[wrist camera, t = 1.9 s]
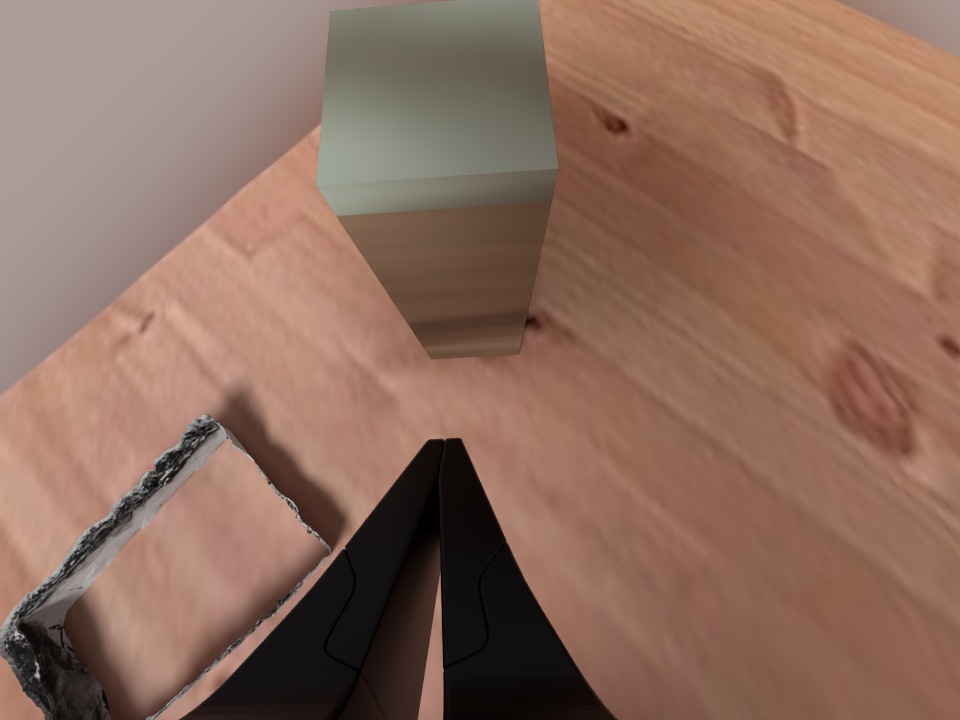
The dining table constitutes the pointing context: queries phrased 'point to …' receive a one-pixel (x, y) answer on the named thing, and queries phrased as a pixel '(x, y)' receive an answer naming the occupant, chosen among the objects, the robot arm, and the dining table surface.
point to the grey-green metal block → (443, 162)
